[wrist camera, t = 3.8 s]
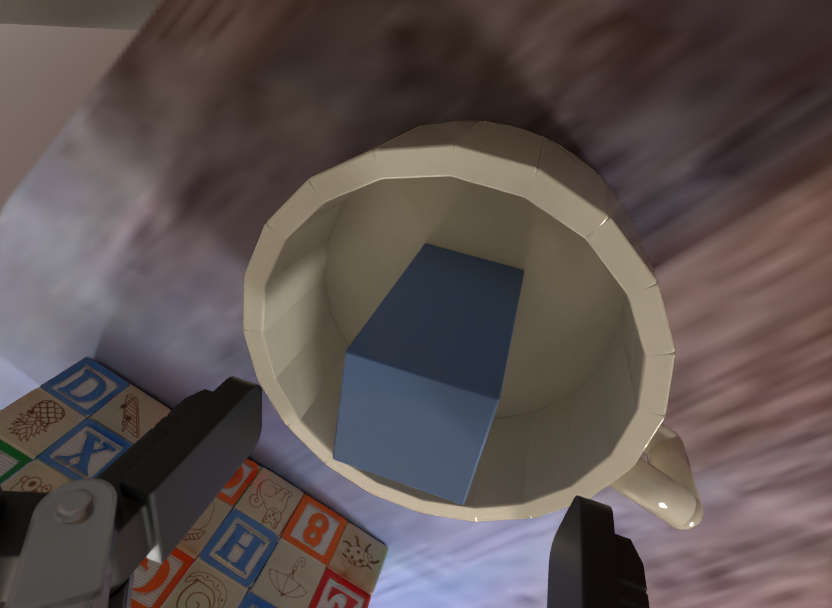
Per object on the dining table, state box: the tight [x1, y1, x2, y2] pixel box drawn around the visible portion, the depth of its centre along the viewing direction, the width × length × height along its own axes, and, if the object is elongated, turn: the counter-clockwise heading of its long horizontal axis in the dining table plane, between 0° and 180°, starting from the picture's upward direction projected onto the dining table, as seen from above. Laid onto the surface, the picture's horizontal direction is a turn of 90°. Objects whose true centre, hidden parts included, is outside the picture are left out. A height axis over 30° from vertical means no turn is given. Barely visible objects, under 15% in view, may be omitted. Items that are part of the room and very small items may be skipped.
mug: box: [243, 120, 703, 530], centre depth 18 cm, size 17×14×6 cm
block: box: [333, 243, 524, 505], centre depth 16 cm, size 4×4×8 cm
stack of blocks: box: [0, 357, 388, 608], centre depth 25 cm, size 21×6×12 cm, turn 61°
